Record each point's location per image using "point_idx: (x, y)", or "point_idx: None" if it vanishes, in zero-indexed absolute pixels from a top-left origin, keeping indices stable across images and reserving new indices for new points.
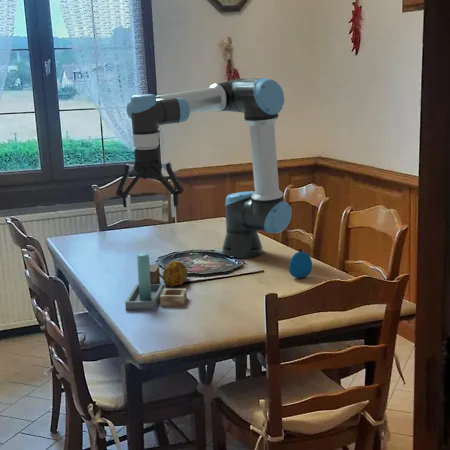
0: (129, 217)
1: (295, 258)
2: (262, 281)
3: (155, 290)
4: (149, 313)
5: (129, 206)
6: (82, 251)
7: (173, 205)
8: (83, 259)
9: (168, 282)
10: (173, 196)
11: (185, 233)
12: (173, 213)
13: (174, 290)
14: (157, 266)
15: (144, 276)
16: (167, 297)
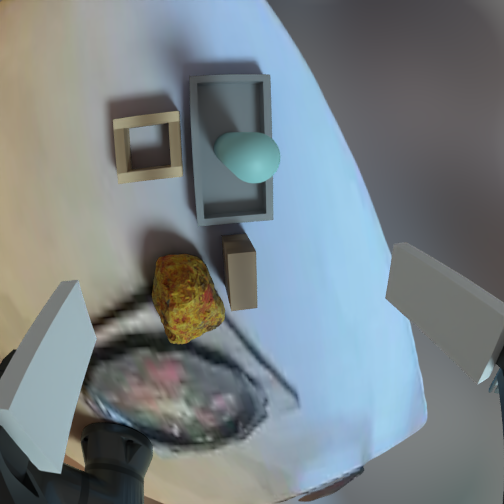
0: (400, 245)
1: None
2: (8, 308)
3: (218, 213)
4: (197, 59)
5: (445, 292)
6: (395, 403)
7: (25, 336)
8: (395, 376)
9: (191, 255)
10: (2, 419)
11: (247, 488)
12: (56, 297)
13: (149, 169)
14: (232, 299)
15: (234, 133)
16: (157, 113)
